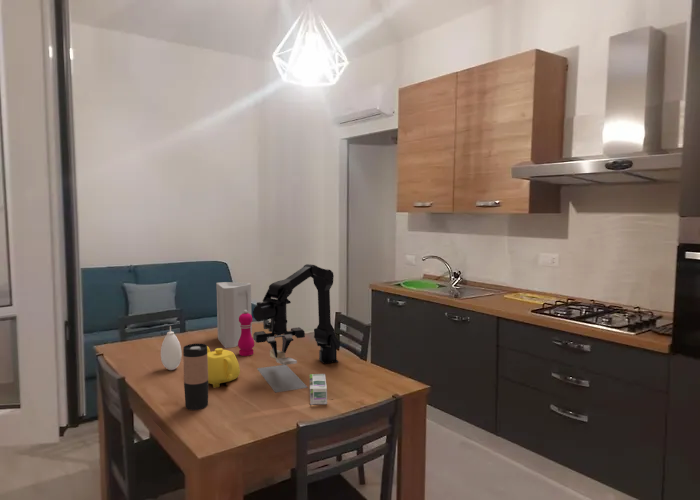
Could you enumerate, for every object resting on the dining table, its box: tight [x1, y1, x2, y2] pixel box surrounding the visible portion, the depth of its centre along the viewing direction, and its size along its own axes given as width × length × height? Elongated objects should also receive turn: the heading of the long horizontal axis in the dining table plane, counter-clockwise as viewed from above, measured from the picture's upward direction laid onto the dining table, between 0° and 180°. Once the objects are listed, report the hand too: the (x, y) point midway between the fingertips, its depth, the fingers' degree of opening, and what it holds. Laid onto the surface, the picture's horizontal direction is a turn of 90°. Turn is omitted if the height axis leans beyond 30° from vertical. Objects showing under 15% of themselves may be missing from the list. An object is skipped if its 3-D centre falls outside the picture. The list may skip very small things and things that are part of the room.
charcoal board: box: [256, 364, 309, 393], centre depth 187 cm, size 12×28×1 cm, turn 24°
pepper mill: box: [237, 310, 255, 357], centre depth 219 cm, size 7×7×20 cm
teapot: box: [207, 345, 241, 389], centre depth 186 cm, size 14×20×13 cm
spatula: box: [269, 349, 298, 366], centre depth 186 cm, size 5×24×3 cm, turn 24°
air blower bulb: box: [160, 325, 183, 371], centre depth 199 cm, size 8×8×18 cm
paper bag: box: [216, 281, 253, 349], centre depth 240 cm, size 19×15×28 cm
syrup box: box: [309, 373, 328, 406], centre depth 170 cm, size 6×6×14 cm
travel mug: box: [182, 343, 209, 411], centre depth 162 cm, size 8×8×20 cm
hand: (279, 356), depth 188 cm, fingers closed on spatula, 2 cm apart
